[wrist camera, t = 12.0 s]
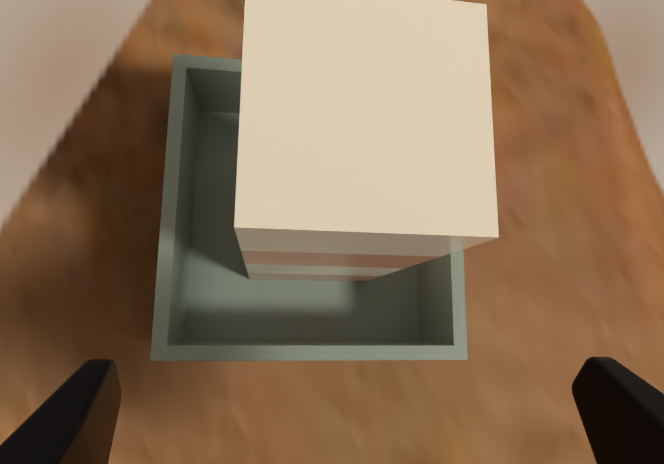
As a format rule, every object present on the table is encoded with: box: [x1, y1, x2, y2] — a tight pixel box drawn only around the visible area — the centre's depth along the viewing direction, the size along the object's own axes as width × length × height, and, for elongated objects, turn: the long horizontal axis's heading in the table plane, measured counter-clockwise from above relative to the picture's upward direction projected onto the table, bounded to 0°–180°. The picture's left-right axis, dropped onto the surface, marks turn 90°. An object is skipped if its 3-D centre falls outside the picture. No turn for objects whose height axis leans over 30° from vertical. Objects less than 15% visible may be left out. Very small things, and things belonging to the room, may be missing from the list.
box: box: [150, 54, 468, 361], centre depth 19 cm, size 11×11×4 cm
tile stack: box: [234, 0, 499, 282], centre depth 15 cm, size 5×5×12 cm
